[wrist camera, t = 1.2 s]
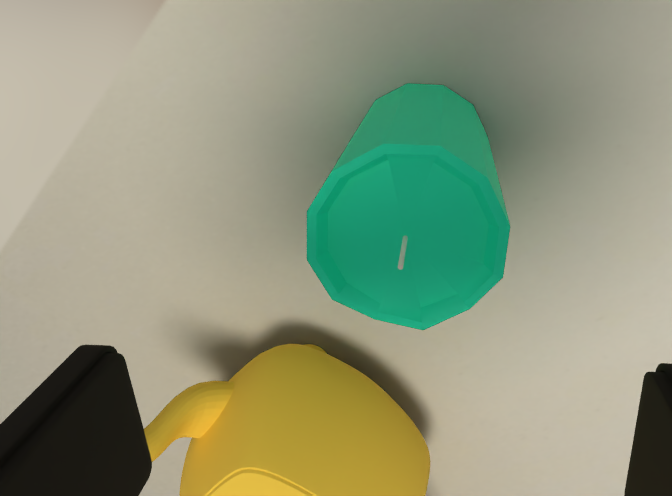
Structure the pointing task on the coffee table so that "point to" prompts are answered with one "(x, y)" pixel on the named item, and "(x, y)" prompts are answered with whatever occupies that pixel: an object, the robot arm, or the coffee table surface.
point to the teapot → (293, 432)
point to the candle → (411, 212)
